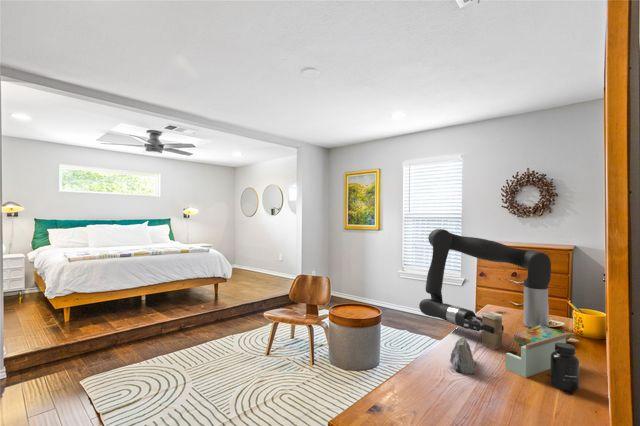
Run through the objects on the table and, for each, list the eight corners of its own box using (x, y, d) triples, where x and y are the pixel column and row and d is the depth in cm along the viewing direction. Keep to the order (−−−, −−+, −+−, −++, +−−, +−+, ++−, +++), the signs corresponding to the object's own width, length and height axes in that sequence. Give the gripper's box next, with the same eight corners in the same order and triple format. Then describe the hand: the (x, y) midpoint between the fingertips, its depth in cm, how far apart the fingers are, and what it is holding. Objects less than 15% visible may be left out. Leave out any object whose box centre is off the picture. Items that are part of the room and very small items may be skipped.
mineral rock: (460, 355, 120) (461, 327, 120) (491, 366, 111) (491, 336, 111) (438, 364, 112) (439, 334, 112) (469, 377, 103) (469, 345, 103)
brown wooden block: (489, 342, 131) (489, 311, 131) (502, 347, 127) (502, 315, 127) (481, 344, 129) (481, 313, 129) (494, 349, 125) (494, 316, 125)
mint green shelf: (540, 354, 121) (541, 325, 121) (568, 364, 113) (568, 333, 113) (501, 366, 111) (501, 335, 111) (528, 378, 103) (528, 345, 103)
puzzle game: (514, 332, 130) (539, 323, 141) (514, 344, 130) (539, 334, 141) (547, 342, 120) (572, 331, 131) (547, 355, 120) (572, 343, 131)
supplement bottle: (571, 394, 94) (571, 351, 94) (545, 383, 100) (545, 343, 100) (584, 389, 97) (584, 347, 97) (558, 378, 103) (558, 339, 103)
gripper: (448, 310, 137) (486, 322, 122) (472, 305, 144) (510, 316, 129) (448, 328, 137) (485, 343, 122) (472, 323, 144) (510, 336, 129)
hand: (498, 329), depth 126 cm, fingers closed on brown wooden block, 4 cm apart
